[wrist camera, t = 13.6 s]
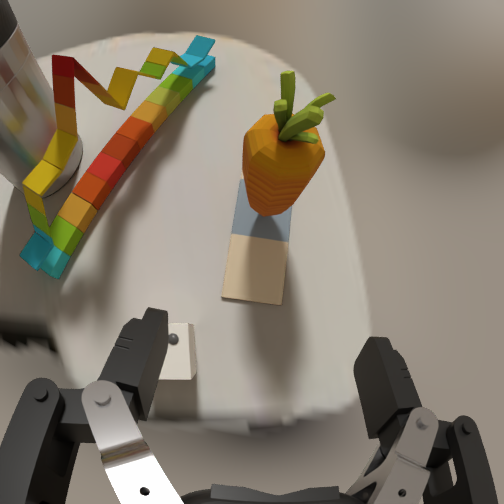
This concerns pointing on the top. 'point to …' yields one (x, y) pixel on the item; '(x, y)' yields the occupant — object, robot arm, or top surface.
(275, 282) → the flat strip
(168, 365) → the die
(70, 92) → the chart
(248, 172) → the carrot
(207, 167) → the top surface
